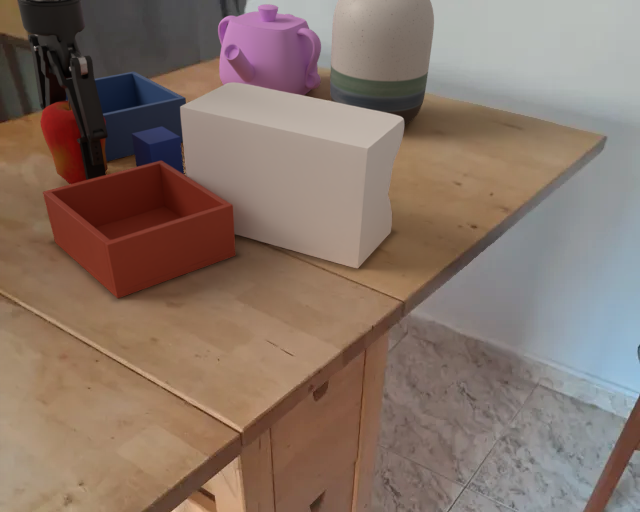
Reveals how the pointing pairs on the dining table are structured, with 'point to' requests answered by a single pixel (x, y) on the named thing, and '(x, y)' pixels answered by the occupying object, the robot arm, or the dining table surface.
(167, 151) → the block
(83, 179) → the apple
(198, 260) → the red bin
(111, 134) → the blue bin
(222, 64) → the teapot
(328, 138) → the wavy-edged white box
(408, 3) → the vase
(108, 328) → the dining table surface
